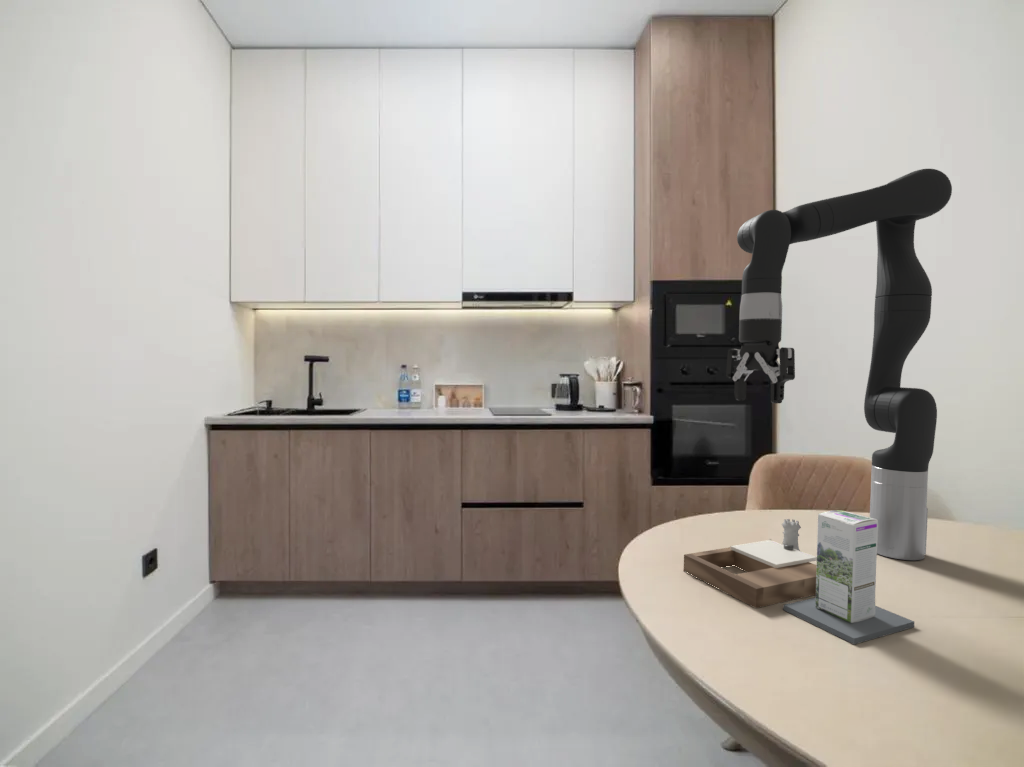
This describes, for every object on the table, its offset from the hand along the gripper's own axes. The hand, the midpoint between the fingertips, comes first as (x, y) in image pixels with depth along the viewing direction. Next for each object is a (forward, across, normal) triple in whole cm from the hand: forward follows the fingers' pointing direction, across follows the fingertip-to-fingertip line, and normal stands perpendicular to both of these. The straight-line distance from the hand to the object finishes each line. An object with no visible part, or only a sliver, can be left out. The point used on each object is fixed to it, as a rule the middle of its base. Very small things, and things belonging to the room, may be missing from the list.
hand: (757, 401), depth 106 cm
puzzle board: (+30, -10, +10) cm, 33 cm away
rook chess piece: (+30, -6, -3) cm, 31 cm away
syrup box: (+30, -25, +9) cm, 40 cm away
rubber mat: (+30, -26, +9) cm, 40 cm away
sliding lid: (+27, -8, +4) cm, 28 cm away
